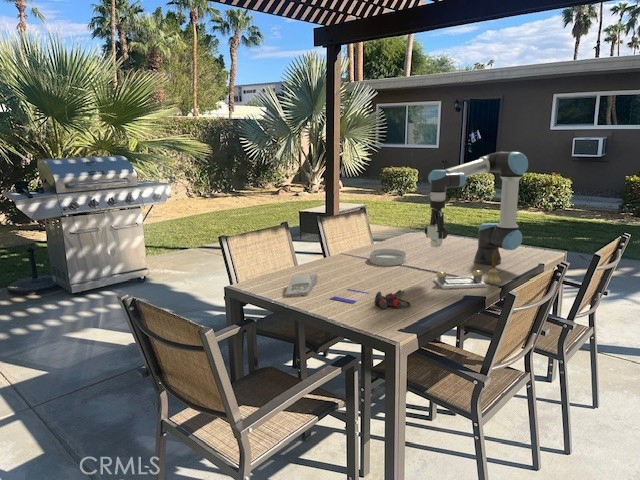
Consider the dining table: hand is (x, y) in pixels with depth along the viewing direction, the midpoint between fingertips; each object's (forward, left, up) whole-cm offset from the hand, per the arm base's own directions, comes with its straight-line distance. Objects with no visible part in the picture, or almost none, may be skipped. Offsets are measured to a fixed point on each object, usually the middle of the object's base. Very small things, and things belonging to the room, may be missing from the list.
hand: (436, 242), depth 252 cm
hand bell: (-28, +9, -20) cm, 35 cm away
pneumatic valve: (0, 0, -3) cm, 3 cm away
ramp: (+72, +9, -20) cm, 75 cm away
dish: (+17, -39, -20) cm, 48 cm away
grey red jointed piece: (+29, +35, -20) cm, 50 cm away
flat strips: (+47, +20, -20) cm, 55 cm away
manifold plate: (-9, +12, -20) cm, 24 cm away
